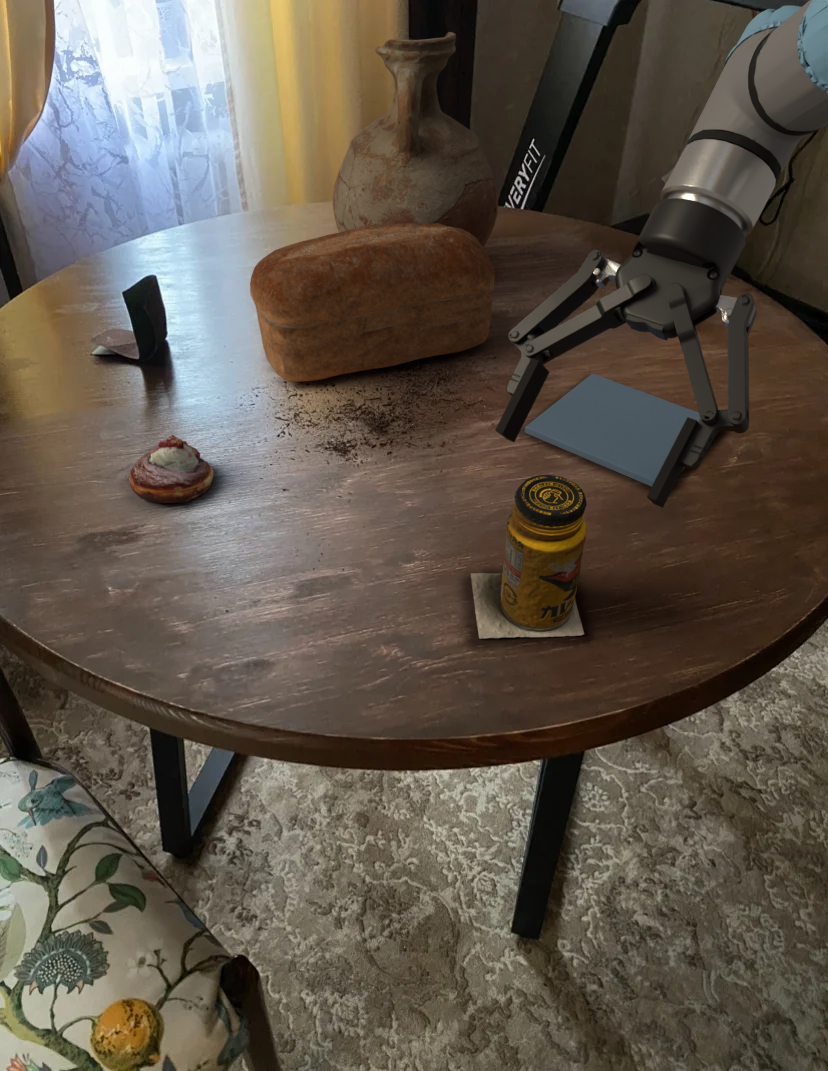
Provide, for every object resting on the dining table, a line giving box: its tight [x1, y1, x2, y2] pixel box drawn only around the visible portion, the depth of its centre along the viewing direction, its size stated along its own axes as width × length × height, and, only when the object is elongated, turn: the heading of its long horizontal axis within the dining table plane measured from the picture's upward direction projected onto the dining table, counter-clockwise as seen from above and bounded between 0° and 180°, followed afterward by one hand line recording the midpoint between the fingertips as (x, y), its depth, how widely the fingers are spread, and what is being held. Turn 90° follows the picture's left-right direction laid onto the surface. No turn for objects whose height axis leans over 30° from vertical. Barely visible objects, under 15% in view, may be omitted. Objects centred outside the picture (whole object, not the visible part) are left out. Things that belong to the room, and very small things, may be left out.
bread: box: [249, 223, 496, 383], centre depth 97 cm, size 12×28×14 cm, turn 111°
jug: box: [332, 31, 499, 248], centre depth 107 cm, size 22×22×30 cm
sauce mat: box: [524, 373, 700, 488], centre depth 89 cm, size 16×14×1 cm
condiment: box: [470, 474, 588, 639], centre depth 66 cm, size 7×8×12 cm
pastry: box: [128, 434, 215, 504], centre depth 81 cm, size 8×8×5 cm
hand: (575, 468), depth 66 cm, fingers open, 13 cm apart
